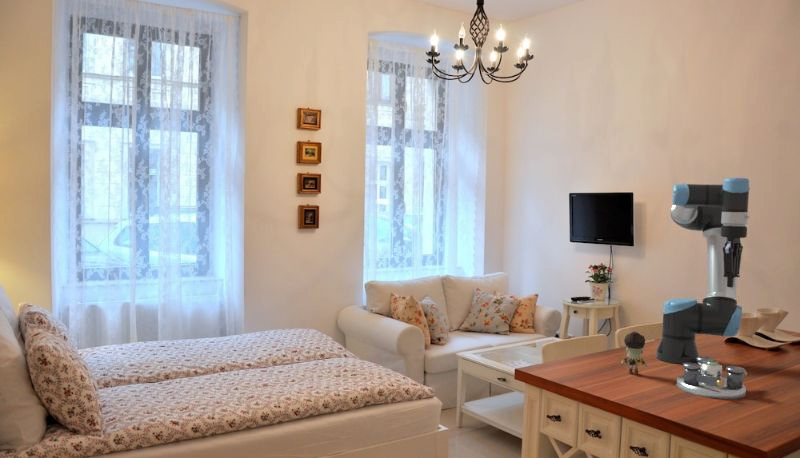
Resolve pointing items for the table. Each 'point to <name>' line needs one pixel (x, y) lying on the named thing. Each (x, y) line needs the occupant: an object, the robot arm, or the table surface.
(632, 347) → the toy
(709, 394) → the tribrach plate
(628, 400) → the table surface
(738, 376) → the knob
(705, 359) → the knob
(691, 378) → the knob
